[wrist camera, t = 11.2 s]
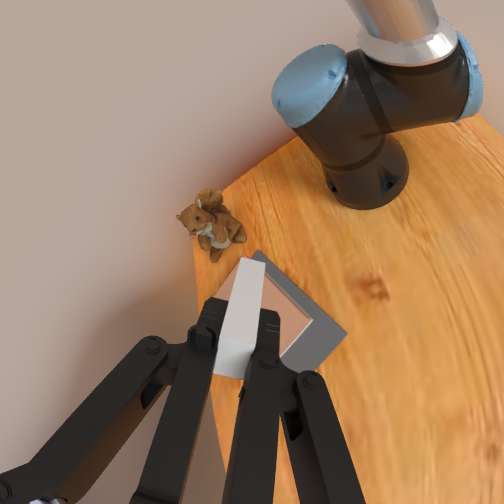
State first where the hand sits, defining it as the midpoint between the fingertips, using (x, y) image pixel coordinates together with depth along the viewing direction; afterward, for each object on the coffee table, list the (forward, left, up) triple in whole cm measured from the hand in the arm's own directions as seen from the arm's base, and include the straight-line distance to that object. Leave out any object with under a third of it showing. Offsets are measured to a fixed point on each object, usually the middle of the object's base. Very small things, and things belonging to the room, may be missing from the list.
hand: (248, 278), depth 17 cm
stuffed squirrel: (-14, -34, -26) cm, 45 cm away
